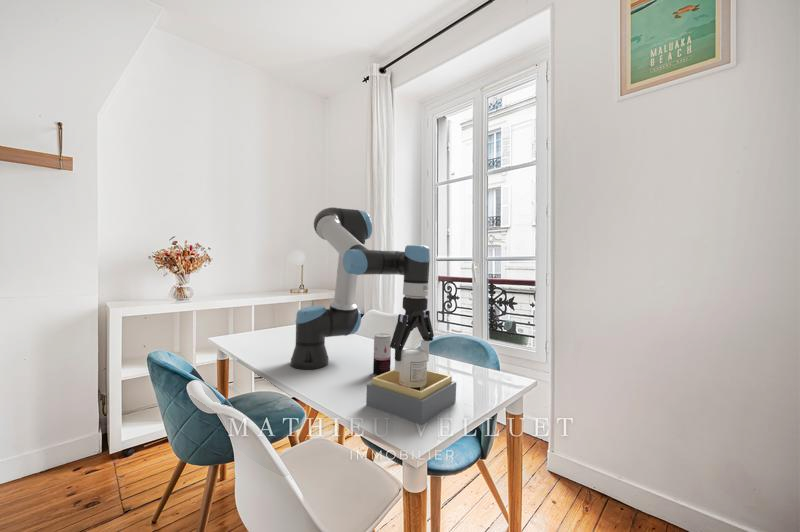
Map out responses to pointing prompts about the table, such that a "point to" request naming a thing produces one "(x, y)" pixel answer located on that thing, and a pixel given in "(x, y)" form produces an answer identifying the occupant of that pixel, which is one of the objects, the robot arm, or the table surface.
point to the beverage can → (382, 353)
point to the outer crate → (411, 402)
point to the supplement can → (414, 369)
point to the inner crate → (392, 383)
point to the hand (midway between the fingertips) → (412, 366)
